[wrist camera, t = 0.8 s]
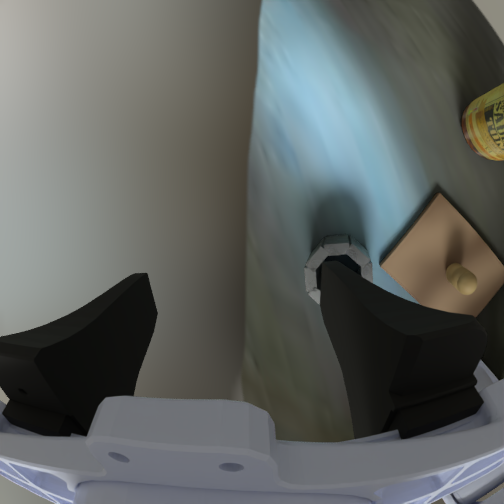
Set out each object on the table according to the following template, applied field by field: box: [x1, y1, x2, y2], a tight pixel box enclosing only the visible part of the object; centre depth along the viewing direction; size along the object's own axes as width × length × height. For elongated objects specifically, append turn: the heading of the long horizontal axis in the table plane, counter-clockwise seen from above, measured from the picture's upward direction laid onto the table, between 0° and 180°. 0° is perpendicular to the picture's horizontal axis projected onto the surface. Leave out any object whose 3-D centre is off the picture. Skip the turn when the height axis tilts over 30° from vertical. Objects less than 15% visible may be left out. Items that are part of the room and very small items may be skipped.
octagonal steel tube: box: [304, 234, 373, 304], centre depth 26 cm, size 6×6×5 cm
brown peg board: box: [379, 193, 504, 318], centre depth 22 cm, size 12×9×6 cm
